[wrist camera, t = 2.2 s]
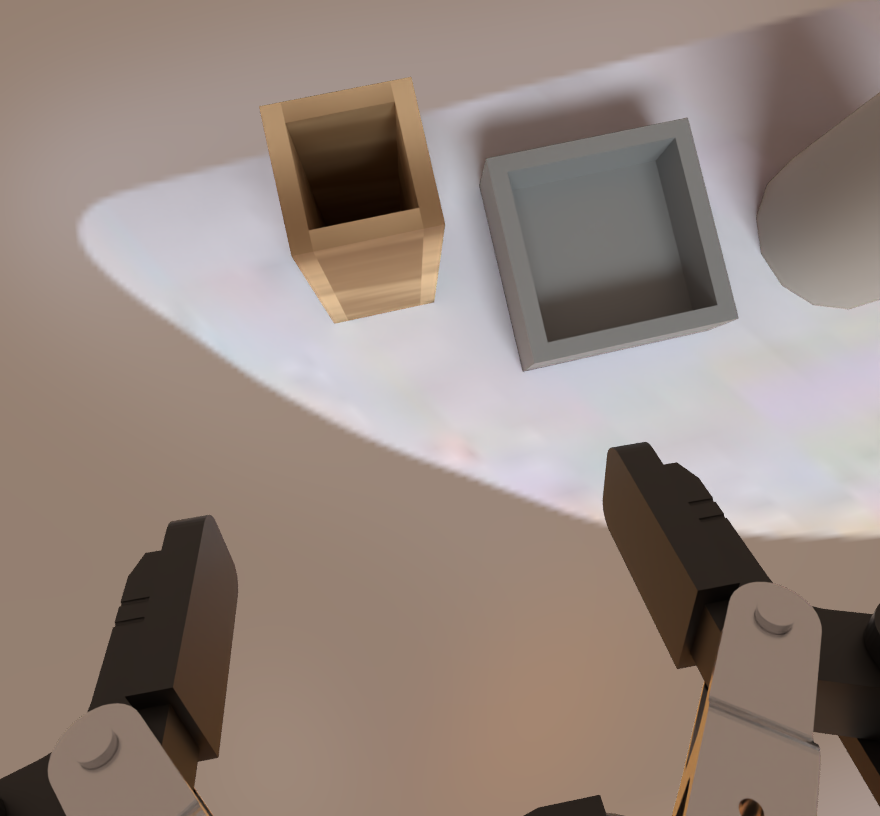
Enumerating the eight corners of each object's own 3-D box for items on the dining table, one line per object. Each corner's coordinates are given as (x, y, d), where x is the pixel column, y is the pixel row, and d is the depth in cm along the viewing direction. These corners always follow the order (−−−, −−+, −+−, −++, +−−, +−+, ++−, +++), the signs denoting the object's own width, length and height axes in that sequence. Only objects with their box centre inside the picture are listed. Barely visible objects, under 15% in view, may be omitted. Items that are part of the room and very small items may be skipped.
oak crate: (312, 225, 31) (259, 106, 20) (411, 205, 32) (411, 77, 21) (334, 323, 31) (291, 255, 20) (434, 302, 31) (444, 224, 20)
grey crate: (479, 185, 32) (486, 158, 29) (662, 148, 32) (687, 117, 29) (523, 371, 31) (534, 363, 28) (708, 330, 32) (738, 318, 29)
